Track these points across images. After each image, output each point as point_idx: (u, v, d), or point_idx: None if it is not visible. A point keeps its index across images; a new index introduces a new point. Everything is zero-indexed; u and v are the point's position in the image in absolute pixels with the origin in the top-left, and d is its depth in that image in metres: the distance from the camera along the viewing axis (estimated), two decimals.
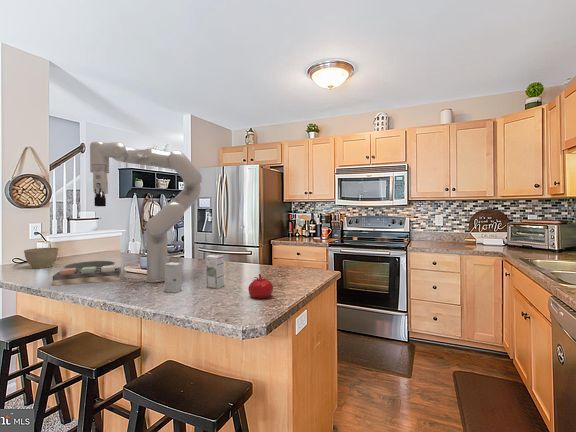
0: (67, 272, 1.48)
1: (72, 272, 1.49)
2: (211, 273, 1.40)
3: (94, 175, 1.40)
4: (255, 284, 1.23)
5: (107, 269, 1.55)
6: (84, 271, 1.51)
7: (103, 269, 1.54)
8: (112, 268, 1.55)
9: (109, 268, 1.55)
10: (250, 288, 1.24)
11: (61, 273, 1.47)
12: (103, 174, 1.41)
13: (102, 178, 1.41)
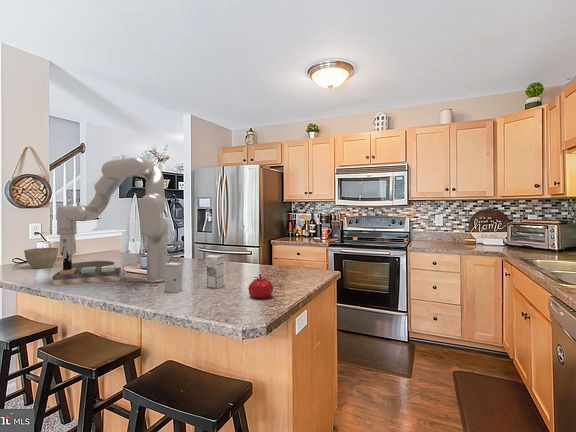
0: (67, 272, 1.48)
1: (72, 273, 1.49)
2: (211, 273, 1.40)
3: (60, 239, 1.45)
4: (255, 284, 1.23)
5: (107, 269, 1.55)
6: (84, 271, 1.51)
7: (103, 269, 1.54)
8: (112, 268, 1.55)
9: (109, 268, 1.55)
10: (250, 288, 1.24)
11: (61, 273, 1.47)
12: (69, 237, 1.47)
13: (68, 241, 1.46)
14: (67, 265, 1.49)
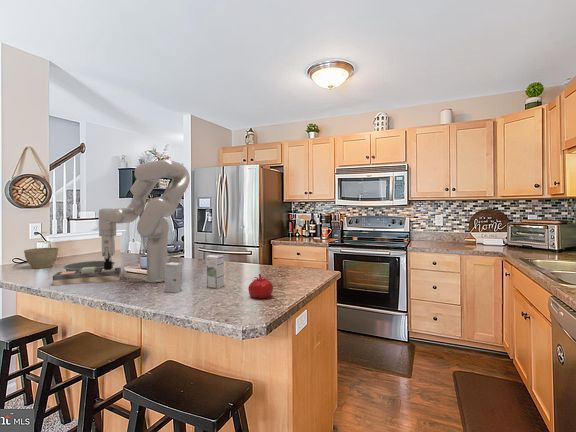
0: None
1: None
2: (211, 273, 1.40)
3: (103, 240, 1.52)
4: (255, 284, 1.23)
5: None
6: (84, 271, 1.51)
7: None
8: None
9: None
10: (250, 288, 1.24)
11: None
12: (111, 239, 1.53)
13: (110, 242, 1.53)
14: (108, 265, 1.56)
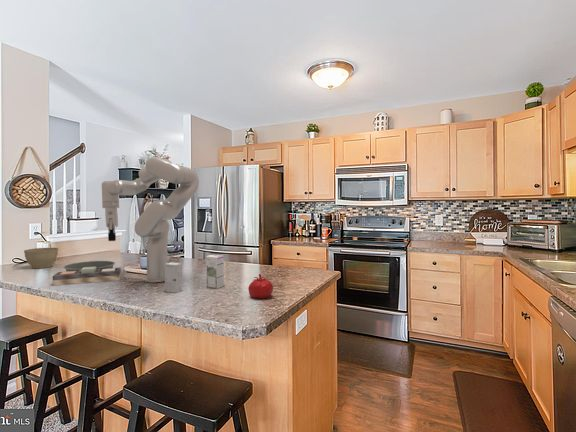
0: None
1: None
2: (211, 273, 1.40)
3: (106, 211, 1.56)
4: (255, 284, 1.23)
5: None
6: (84, 271, 1.51)
7: None
8: None
9: None
10: (250, 288, 1.24)
11: None
12: (114, 210, 1.57)
13: (114, 214, 1.57)
14: (112, 236, 1.60)
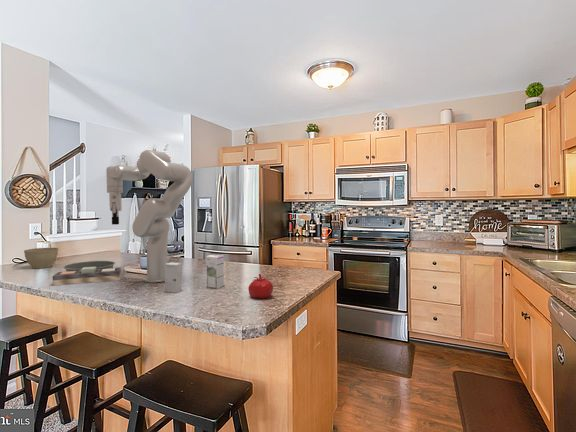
0: None
1: None
2: (211, 273, 1.40)
3: (110, 195, 1.62)
4: (255, 284, 1.23)
5: None
6: (84, 271, 1.51)
7: None
8: None
9: None
10: (250, 288, 1.24)
11: None
12: (118, 194, 1.63)
13: (117, 198, 1.62)
14: (115, 220, 1.65)
